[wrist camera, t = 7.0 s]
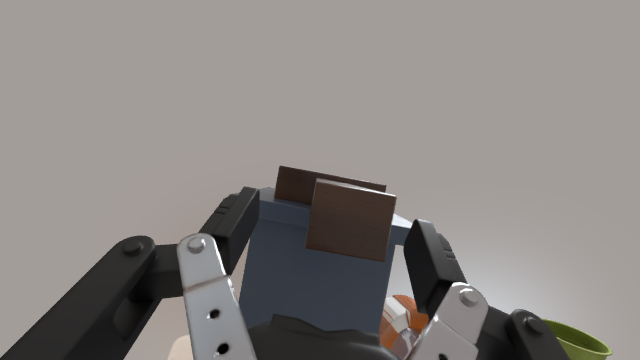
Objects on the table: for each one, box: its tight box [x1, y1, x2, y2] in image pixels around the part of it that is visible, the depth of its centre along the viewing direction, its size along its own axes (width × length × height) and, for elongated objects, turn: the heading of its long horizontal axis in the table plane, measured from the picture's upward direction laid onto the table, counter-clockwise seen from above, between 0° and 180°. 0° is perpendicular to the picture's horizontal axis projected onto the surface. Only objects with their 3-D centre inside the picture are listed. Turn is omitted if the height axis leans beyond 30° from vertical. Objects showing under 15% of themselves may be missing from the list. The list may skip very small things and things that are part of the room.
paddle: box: [274, 166, 397, 262], centre depth 21 cm, size 24×10×3 cm, turn 1°
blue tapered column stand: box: [229, 187, 413, 334], centre depth 27 cm, size 14×16×32 cm
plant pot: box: [542, 319, 613, 360], centre depth 54 cm, size 12×12×11 cm
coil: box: [379, 295, 429, 360], centre depth 47 cm, size 7×15×15 cm, turn 106°
